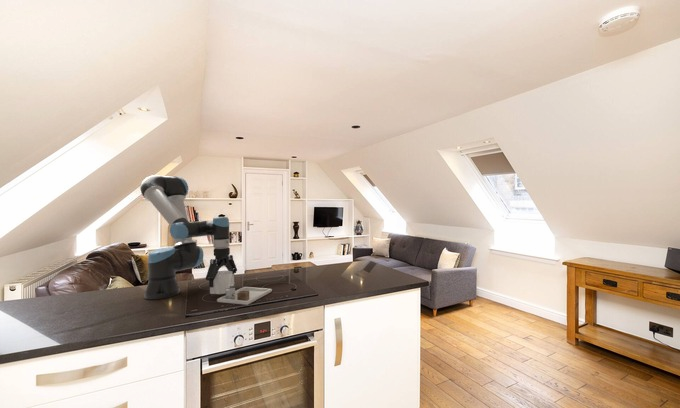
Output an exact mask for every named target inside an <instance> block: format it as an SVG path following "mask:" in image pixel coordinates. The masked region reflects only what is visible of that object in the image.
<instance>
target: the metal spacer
mask: <svg viewBox="0 0 680 408" xmlns="http://www.w3.org/2000/svg"><path fill="white" fill-rule="evenodd" d="M235 291H236V288H235V287H230V288H227V289H226V293H225V295H226V299H232V300H235Z"/></svg>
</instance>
